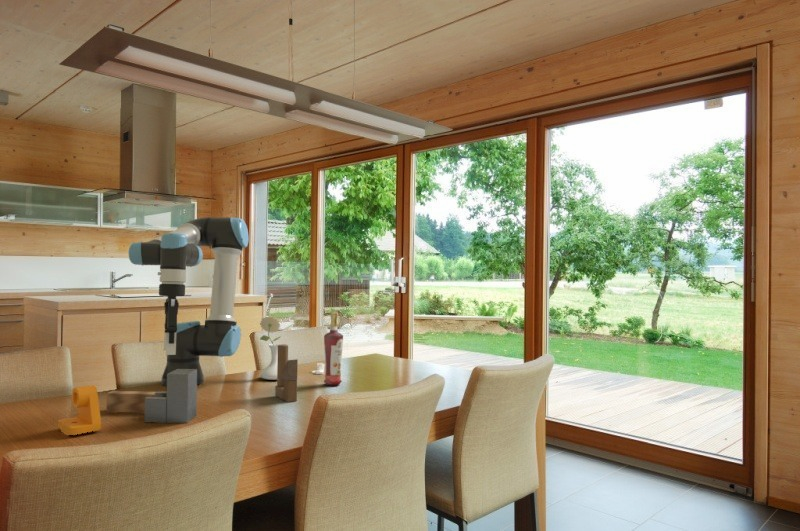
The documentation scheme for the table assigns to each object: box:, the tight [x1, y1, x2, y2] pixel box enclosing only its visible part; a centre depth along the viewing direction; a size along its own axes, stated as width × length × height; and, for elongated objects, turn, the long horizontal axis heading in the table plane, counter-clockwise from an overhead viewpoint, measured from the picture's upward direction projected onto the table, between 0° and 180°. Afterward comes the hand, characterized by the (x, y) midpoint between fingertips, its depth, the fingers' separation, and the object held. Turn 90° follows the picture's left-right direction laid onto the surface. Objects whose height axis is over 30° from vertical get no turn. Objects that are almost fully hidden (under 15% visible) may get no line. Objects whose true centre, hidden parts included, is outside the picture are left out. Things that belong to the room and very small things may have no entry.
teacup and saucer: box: [311, 362, 325, 375], centre depth 244 cm, size 9×8×4 cm
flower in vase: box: [259, 315, 282, 381], centre depth 229 cm, size 13×11×25 cm
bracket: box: [57, 384, 102, 436], centre depth 155 cm, size 11×7×12 cm, turn 49°
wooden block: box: [274, 343, 299, 403], centre depth 196 cm, size 4×11×18 cm, turn 34°
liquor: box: [323, 311, 344, 387], centre depth 219 cm, size 7×7×28 cm
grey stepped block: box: [144, 369, 198, 424], centre depth 168 cm, size 9×12×14 cm
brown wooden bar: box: [106, 390, 156, 414], centre depth 176 cm, size 20×4×6 cm, turn 89°
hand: (169, 352), depth 176 cm, fingers open, 13 cm apart
